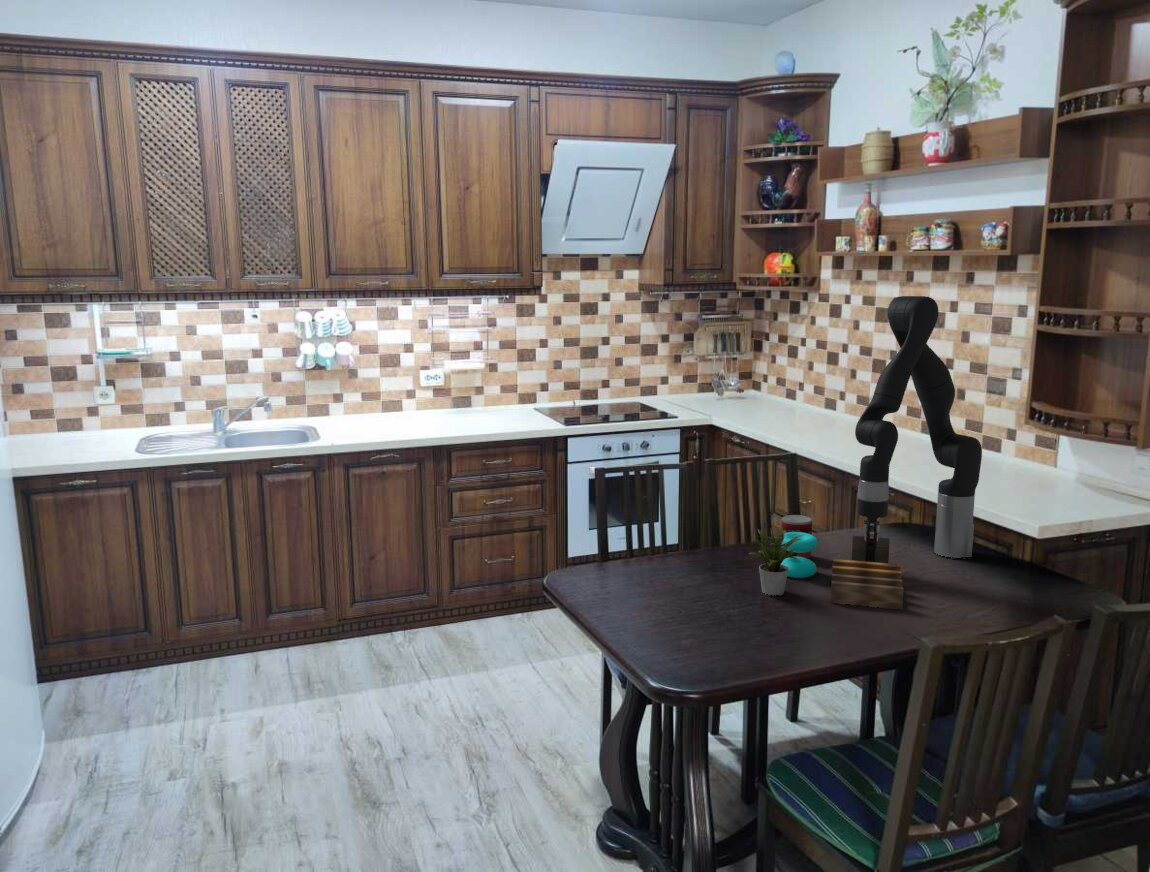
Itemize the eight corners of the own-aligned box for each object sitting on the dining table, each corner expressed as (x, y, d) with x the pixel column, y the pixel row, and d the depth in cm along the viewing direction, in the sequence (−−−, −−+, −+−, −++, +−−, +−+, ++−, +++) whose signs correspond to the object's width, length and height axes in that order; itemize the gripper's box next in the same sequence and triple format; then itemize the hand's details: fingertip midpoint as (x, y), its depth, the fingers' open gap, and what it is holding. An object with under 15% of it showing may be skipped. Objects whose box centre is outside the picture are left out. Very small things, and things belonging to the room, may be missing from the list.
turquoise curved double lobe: (780, 541, 230) (775, 530, 239) (779, 579, 231) (774, 566, 241) (820, 542, 229) (814, 530, 238) (819, 580, 230) (813, 567, 240)
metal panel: (887, 572, 235) (889, 535, 233) (887, 575, 233) (889, 538, 231) (851, 569, 238) (852, 533, 236) (850, 572, 235) (852, 535, 234)
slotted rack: (899, 584, 226) (900, 564, 226) (902, 609, 210) (903, 588, 209) (832, 578, 231) (833, 559, 230) (830, 603, 215) (831, 581, 214)
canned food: (775, 554, 251) (776, 516, 249) (801, 551, 253) (802, 513, 251) (790, 563, 244) (791, 523, 242) (816, 560, 246) (817, 520, 244)
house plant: (805, 606, 213) (808, 539, 210) (745, 602, 216) (747, 536, 213) (803, 585, 227) (805, 522, 224) (746, 582, 229) (748, 519, 226)
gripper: (889, 504, 224) (885, 571, 227) (887, 491, 237) (884, 554, 240) (857, 502, 226) (854, 569, 229) (857, 489, 239) (854, 552, 242)
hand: (869, 561), depth 235 cm, fingers closed on metal panel, 2 cm apart
